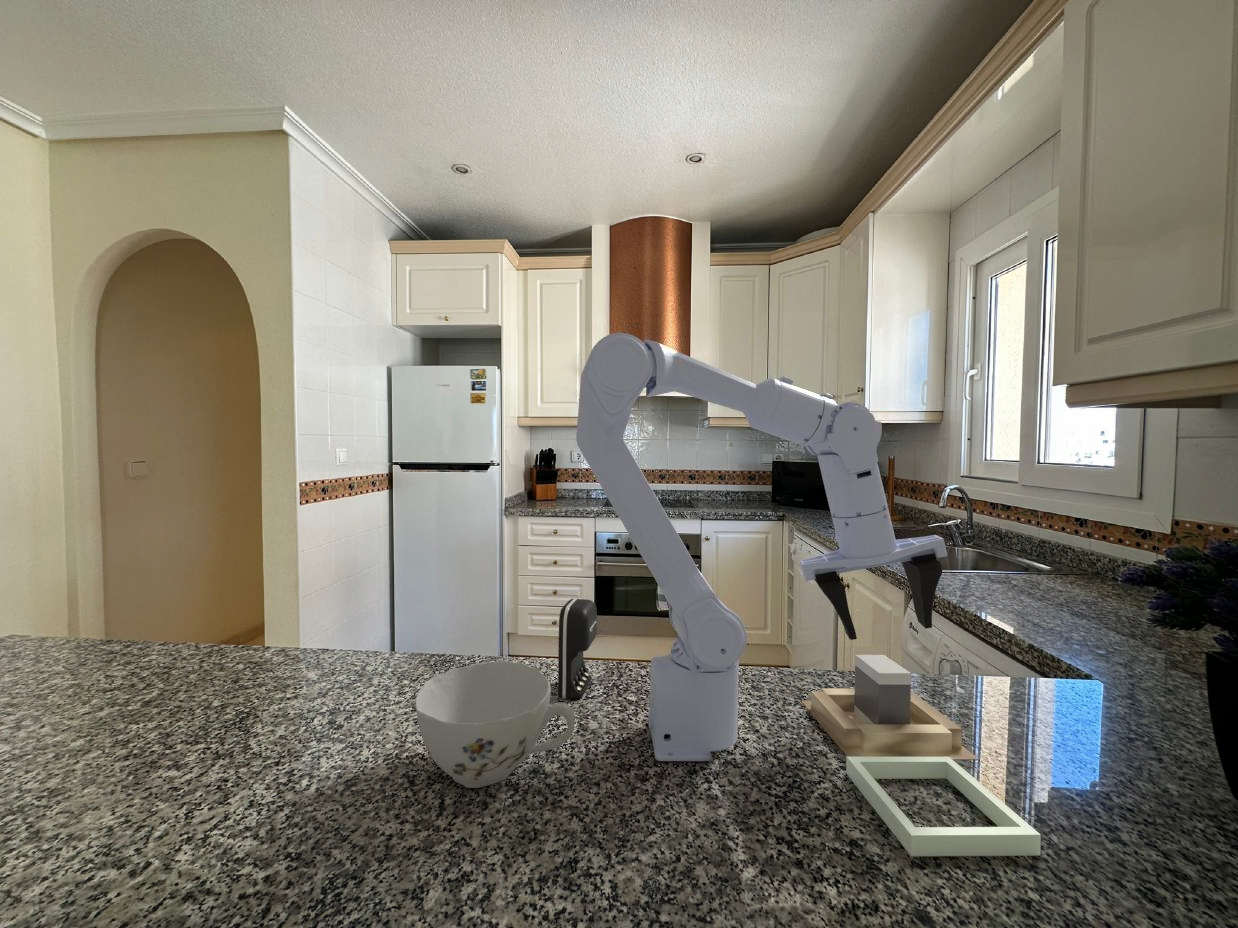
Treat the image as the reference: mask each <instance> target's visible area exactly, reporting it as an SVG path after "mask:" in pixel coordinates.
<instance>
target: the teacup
mask: <svg viewBox="0 0 1238 928" xmlns="http://www.w3.org/2000/svg"><path fill="white" fill-rule="evenodd" d="M551 690H552V689H551V683H550V680H548V679H547V677H546V676H544V674H543V673H542V671H541V670H539V669H538V668H535V667H532V666H531V665H529V664H525V663H521V662H513V661H487V662H477V663H473V664H470V665H466V666H461V667H453V668H450V669H447V670H446V671H445V672H444V673H439V674H437V675H434V676H433V677H431V678H430V679H429V680H427V681H425V682H424V684H423V685H422V687H421V688H420V689H419V690H418V692H417V694H416V697H415V701H414V703H415V710H416V711H415V712H416V718H417V723H418V728H419V732H420V736H421V738H422V742H423V744H424V746H425V748H426V750H427V752H428V754H429V756H430V757H431V758H432V760H433V761H434V762H435V763H436V765H437V766H438V767H439V768H440V769H441V770H442V771H444V773H446V774H447V775H448V776H451V777H452V779H453V781H454V782H456V783H457V784H460V785H462V786H464V787H465V788H469V789H471V788H472V789H477V788H482V787H483V788H484V787H487V786H491V785H494V784H497V783H499V782H502V781H504V780H505V779H506V778H507V777H508V776H509V775H510V774H512V773H513V771H514V770H515V769H516V768H518V766H520V765H521V764H522V763H523V762H524V760H525V759H526V758H527V757H529V756H530V755H532V754H535V753H542V752H545V751H548V750H554V749H557V748H559V747H561V746H562V745H563V744H564V743H566V742H567V741H569V739H570V738H571V736H572V735H573V733H574V730H575V712H574V710H573V708H572V707H571V706H570V705H569V704H568V703H565V702H554V703H553V704H550V701H551ZM557 715H559V716H563V717H564V719H565V720H566V723H567V724H566V725H567V727H566V730H565V731H564V732H562V733H561V734H560V735H559V736H557V737H555V738H553V739H551V740H546V741H545V742H541V743H538V739H539V737H540V735H541V733H542V730H544V728H545V727H546V726H547V725H548V723H549V722H550V720H551V719H552V718H553V717H554V716H557Z"/></svg>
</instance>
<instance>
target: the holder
mask: <svg viewBox="0 0 1238 928" xmlns="http://www.w3.org/2000/svg"><path fill="white" fill-rule="evenodd" d="M854 701H855V688H835V687H834V688H833V687H832V688H823V687H822V688H821V691H816V690H815V691H811V692H810V700H801V703H802V704H803V706H805V708H806V709H807V710H808V711H809V713H810V714H811V715H812V716H813V718H815V719H816V721H817V722H818V723H819V725H820V726H821V727H822V728H823V729H824V730H825V731H826V733H827V734H828V735H829V736H830V738H831V739H832V740H833V741H834V742H835V744H836V745H837V747H838V748H840V750H841V751H842V752H843V753H844V755H845V756H846V758H847V757H950V758H951V759H952V760H953V761H957V760H959V761H961V760H963V761H965V760H966V761H968V760H971V761H972V760H973V761H974V760H976V761H977V760H980V758H979V757H978V756H976V755H975V754H974V753H973V752H971V751H969V749H967V748H966V747H964V746H963V745H962V743H963V741H962V740H963V739H962V738H963V737H962V736H963V735H962V733H963V728H962V727H960V726H959V725H958V724H957V723H955V722H954V721H952V719H950V718H948V717H947V716H946V715H944V714H943V713H942V712H940V711H939V710H938V709H936V708H935V707H933V706H932V705H931V704H929V703H928V702H926V701H925V699H922V698H921V697H920V696H918V695H917V693H915V692H913V691H911V701H910V724H862V723H861V722H860V721H859V720H858V719H857V718H856V716H855V715H854Z"/></svg>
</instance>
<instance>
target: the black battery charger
mask: <svg viewBox="0 0 1238 928" xmlns="http://www.w3.org/2000/svg"><path fill="white" fill-rule="evenodd" d="M597 613H598V612H597V605H596V603H595V602H594V601H593V600H591V599H586V598H585V599H584V598H577V597H575V598H570V599H569V600H568V601H566V603H565V604H563V606H562V607H561V609H560V612H559V618H558V644H557V645H558V654H557V655H558V663H557V665H558V668H557V669H558V670H557V673H558V675H557V676H558V678H557V679H558V683H557V696H558V697H559V698H560V699H563V700H566V699H572V700H573V699H581V698H582V697H583V696H584V695H585V693H586V692H587V690H588V687H589V686H590V683H591V682H592V675H591V674H590V672H589V670H588V669H587V666H586V663H585V660H584V652H586V651H588V650H589V649H590V647H591V645H592V643H593V642H594V640H595V639H596V637H597V636H598V635H597V634H598V615H597Z"/></svg>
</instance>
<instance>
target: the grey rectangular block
mask: <svg viewBox="0 0 1238 928" xmlns="http://www.w3.org/2000/svg"><path fill="white" fill-rule="evenodd" d="M854 657H855V658H854V689H855V701H854V715H855V716H856V718H857V719H858V720H859V721H860V722H861V723H862V724H910V701H911V692H912V688H911V687H912V683H911V682H912V673H911V672H910V671H909V670H907V669H906V668H904V667H903V666H901V665H900V664H898V663H897V662H895V661H894V660H892V659H891V658H889V657H888V656H886V655H885V654H855V656H854Z"/></svg>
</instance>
